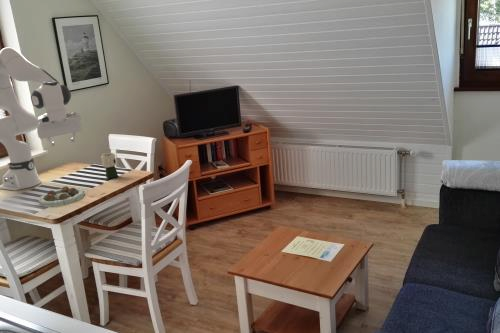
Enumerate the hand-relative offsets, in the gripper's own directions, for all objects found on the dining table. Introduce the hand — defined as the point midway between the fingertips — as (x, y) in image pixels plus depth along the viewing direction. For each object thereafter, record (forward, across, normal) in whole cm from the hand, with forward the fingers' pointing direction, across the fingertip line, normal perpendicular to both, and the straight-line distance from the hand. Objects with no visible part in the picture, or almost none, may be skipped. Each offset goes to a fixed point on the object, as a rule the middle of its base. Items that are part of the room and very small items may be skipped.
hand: (63, 143), depth 249 cm
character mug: (+27, -24, -17) cm, 40 cm away
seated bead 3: (+26, +6, +6) cm, 28 cm away
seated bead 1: (+26, +10, -4) cm, 28 cm away
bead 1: (+26, +3, -5) cm, 27 cm away
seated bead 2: (+26, +11, +2) cm, 29 cm away
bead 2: (+26, 0, 0) cm, 26 cm away
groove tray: (+27, +6, 0) cm, 28 cm away
